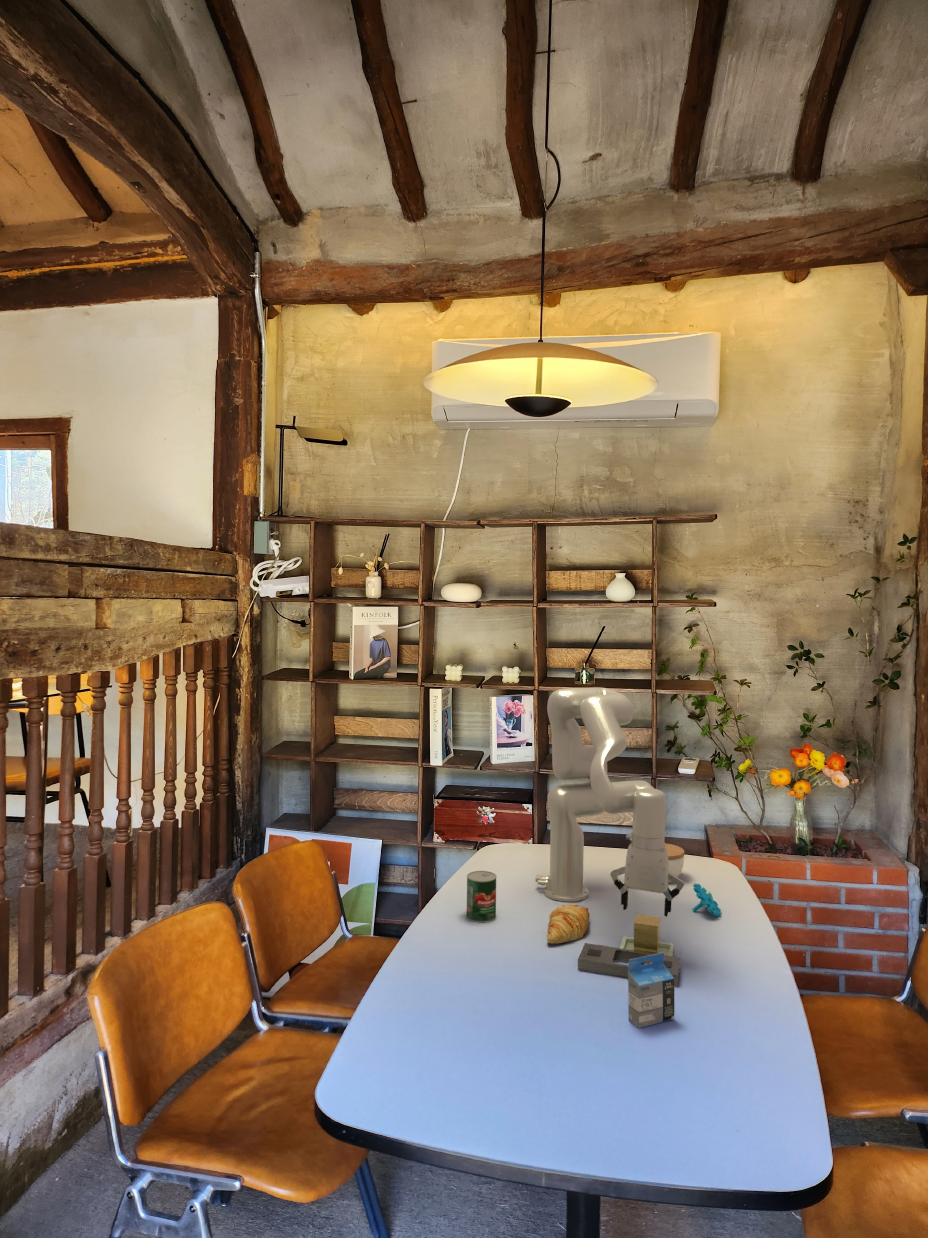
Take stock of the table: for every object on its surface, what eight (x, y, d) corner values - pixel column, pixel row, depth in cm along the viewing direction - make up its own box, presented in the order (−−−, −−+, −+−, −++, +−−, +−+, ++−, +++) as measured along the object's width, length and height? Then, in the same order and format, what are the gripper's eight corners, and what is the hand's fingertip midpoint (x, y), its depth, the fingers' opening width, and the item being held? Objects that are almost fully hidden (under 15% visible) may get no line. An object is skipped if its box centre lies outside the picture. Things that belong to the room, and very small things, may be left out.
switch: (577, 970, 180) (577, 958, 179) (584, 953, 188) (585, 942, 188) (677, 986, 172) (677, 974, 172) (679, 968, 181) (680, 957, 181)
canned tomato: (484, 925, 204) (485, 883, 203) (460, 917, 208) (460, 876, 208) (501, 915, 210) (502, 875, 210) (478, 908, 215) (478, 868, 214)
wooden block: (633, 954, 187) (634, 923, 186) (636, 944, 192) (636, 914, 192) (657, 958, 185) (657, 926, 185) (659, 948, 190) (660, 917, 190)
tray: (619, 957, 186) (619, 950, 186) (623, 943, 194) (623, 936, 194) (671, 965, 182) (671, 958, 182) (673, 950, 190) (673, 944, 190)
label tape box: (639, 1029, 155) (640, 967, 155) (626, 1019, 159) (627, 959, 158) (675, 1020, 158) (676, 960, 158) (662, 1010, 162) (663, 951, 162)
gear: (719, 917, 206) (693, 885, 210) (702, 930, 208) (677, 898, 212) (726, 909, 216) (701, 878, 220) (710, 921, 218) (685, 891, 222)
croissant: (560, 964, 190) (574, 939, 188) (527, 936, 194) (541, 912, 192) (594, 931, 208) (607, 908, 206) (563, 907, 212) (576, 884, 210)
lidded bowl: (688, 886, 233) (689, 849, 233) (646, 886, 233) (646, 849, 233) (677, 872, 246) (678, 837, 245) (637, 871, 246) (638, 836, 246)
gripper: (609, 841, 187) (607, 911, 188) (684, 851, 181) (681, 923, 182) (614, 832, 194) (611, 899, 195) (686, 841, 188) (683, 911, 189)
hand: (645, 911), depth 189 cm, fingers open, 9 cm apart
